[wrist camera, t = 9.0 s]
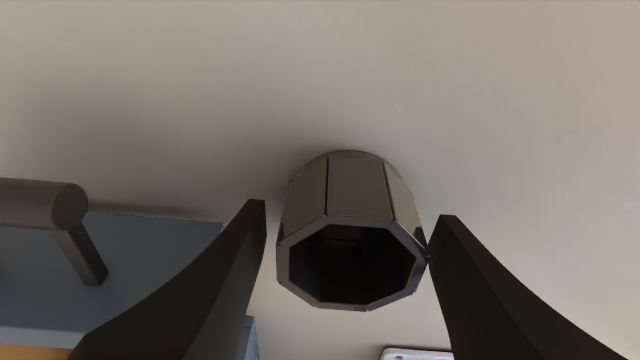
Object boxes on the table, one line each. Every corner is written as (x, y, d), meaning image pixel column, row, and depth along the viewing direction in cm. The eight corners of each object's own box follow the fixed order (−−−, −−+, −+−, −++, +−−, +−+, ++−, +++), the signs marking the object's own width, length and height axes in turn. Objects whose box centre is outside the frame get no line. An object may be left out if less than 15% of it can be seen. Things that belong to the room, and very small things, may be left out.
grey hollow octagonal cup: (418, 155, 12) (445, 223, 9) (392, 242, 15) (406, 315, 12) (290, 144, 12) (274, 209, 9) (289, 234, 15) (277, 305, 12)
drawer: (-98, 114, 11) (-354, 211, 7) (210, 139, 11) (136, 250, 7) (87, 347, 22) (27, 441, 18) (246, 359, 22) (225, 456, 18)
